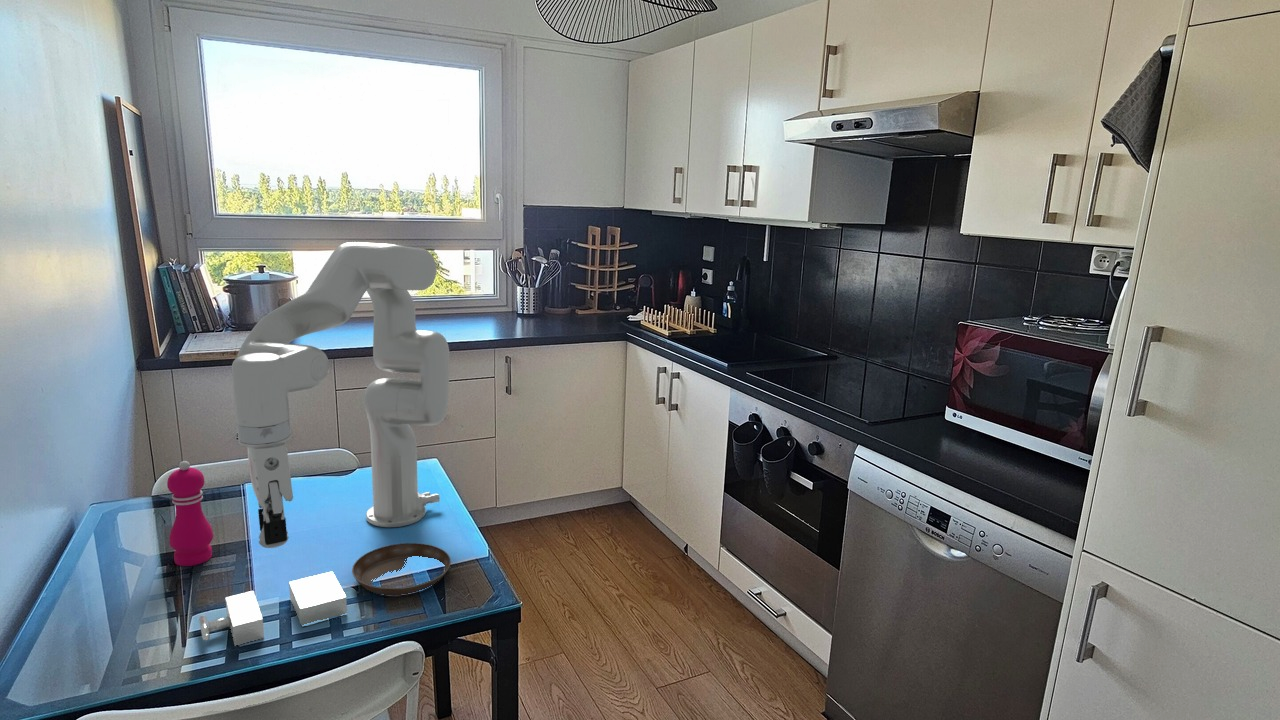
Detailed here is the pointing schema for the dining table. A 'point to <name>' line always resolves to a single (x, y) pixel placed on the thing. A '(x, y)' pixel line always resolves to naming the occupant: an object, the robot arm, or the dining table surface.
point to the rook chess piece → (261, 536)
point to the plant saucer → (395, 565)
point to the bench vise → (307, 596)
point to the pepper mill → (189, 517)
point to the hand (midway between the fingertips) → (273, 534)
